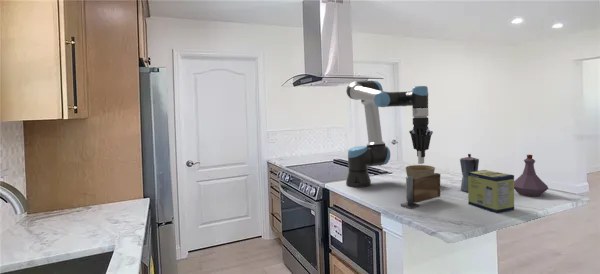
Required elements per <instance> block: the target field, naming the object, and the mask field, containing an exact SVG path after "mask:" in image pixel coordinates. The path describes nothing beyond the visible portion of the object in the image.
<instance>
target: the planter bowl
mask: <svg viewBox="0 0 600 274" xmlns="http://www.w3.org/2000/svg"><path fill="white" fill-rule="evenodd" d="M435 170H436V167H435V166H432V165H424V164H415V165H414V164H413V165H408V166H405V173H406V177H408V176H411V177H418V176H423V175H428V174H433V173H435Z"/></svg>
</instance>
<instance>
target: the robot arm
mask: <svg viewBox="0 0 600 274" xmlns="http://www.w3.org/2000/svg"><path fill="white" fill-rule="evenodd" d="M346 95H347V97H348V98H350V99H352V100H355V101H357V100H360V103H361V104H362V105H363V106H364V113H365V125H366V132H367V141H368V143H367V144H366V145H357V146H353V147H351V148H349V149H348V151H347V162H348V163H347V164H348V173H347V177H346V181H345V184H346V186H348V187H352V188H365V187H369V186H371V185H372V180H371V178H370V175H369V171H368V168H369V167H376V166H377V167H378V166H379V167H380V166H384V165H387V164H388V163H389V162H390V160H391V150H390V148H389V147H388V146H386V143H385V141H384V140H383V136H382V127H381V120H380V118H381V117H380V112H379V111H380V110H379V108H389V107H411V108H412V125H413V127H412V129H411V130H409V131H408V133H409V134H410V137H411V142H412V147H413V150H416V156H417V163H418V164H417V165H424V164H425V158H426V151H427V150H428V151H429V148H430V143H431V138H432V135H433V134H434V132H433V131H432V130H430V127H429V122H430V121H429V90H428V86H426V85H418V86H417V85H416V86H413V87H412V88H411V91H384V90H383V86H382V84H381V83H380V82H379V81H378V80H377V81H376V80H355V81H352V82H351V83H349V84H348V85H347V87H346Z"/></svg>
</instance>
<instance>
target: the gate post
mask: <svg viewBox="0 0 600 274" xmlns="http://www.w3.org/2000/svg"><path fill="white" fill-rule="evenodd" d="M405 182H406V184H405V186H406V188H405V190H406V202H403V203H400V207H403V208H405V207H406V209H409V210H413V209H417V208H420V204H418V203H413V177H411V176H408V177H407V176H406V177H405ZM416 207H417V208H416ZM412 208H413V209H412Z"/></svg>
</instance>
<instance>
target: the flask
mask: <svg viewBox="0 0 600 274" xmlns="http://www.w3.org/2000/svg"><path fill="white" fill-rule="evenodd" d="M523 161H524V164H525V165H524V169H523V172H522V173H521V175H519V177H517V178H516V179H514V191H516V193H517V194H518V195H519V196H520V195H521V196H524V197H532V198H533V197H535V198H536V197H540V196H541V195H543V194H544V193H545V192H546V191H547V190H549V186H548V185H547V184H546V183H545V182H544V181H543V180H542V179H541V178H540V177H539V176H538V175H537V173H536V169H535V163H536V160H535V159H533V154H526V158H525V159H524V160H523Z"/></svg>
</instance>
